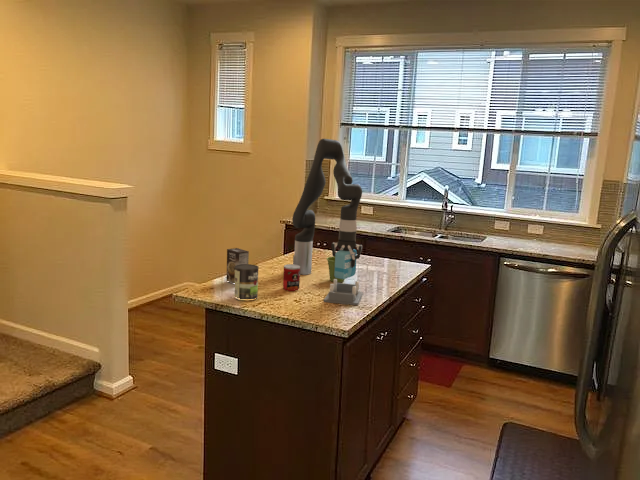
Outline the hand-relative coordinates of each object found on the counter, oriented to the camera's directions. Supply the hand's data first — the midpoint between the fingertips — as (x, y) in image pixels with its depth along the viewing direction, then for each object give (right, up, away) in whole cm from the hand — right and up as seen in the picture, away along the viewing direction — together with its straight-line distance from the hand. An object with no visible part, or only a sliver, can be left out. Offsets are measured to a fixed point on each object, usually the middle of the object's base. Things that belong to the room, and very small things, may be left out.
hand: (345, 266), depth 247 cm
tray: (-1, -14, +3) cm, 15 cm away
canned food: (-25, -11, +13) cm, 30 cm away
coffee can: (-44, -14, -4) cm, 46 cm away
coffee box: (-51, -9, +19) cm, 55 cm away
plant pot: (-3, -9, +32) cm, 33 cm away
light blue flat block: (0, -5, +1) cm, 5 cm away
